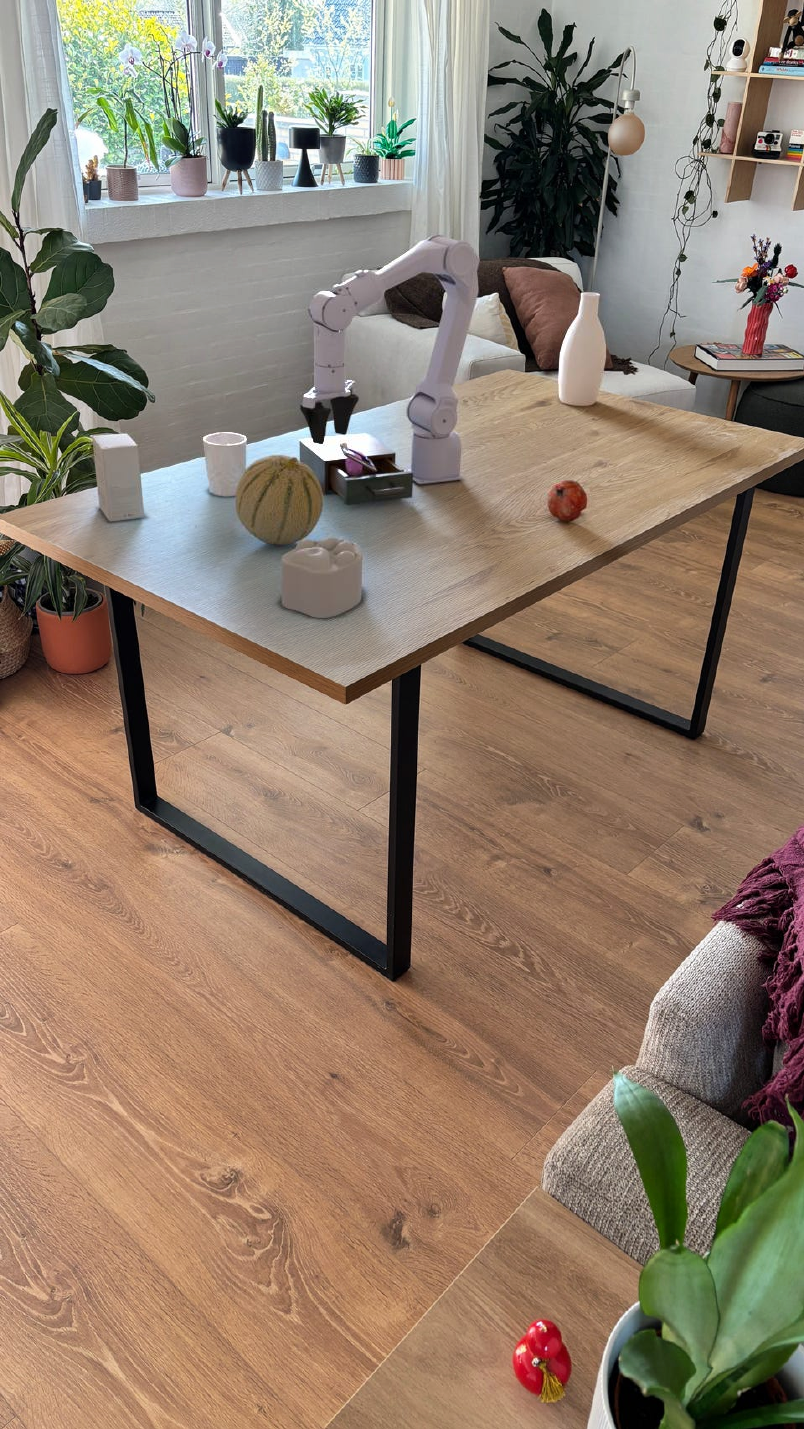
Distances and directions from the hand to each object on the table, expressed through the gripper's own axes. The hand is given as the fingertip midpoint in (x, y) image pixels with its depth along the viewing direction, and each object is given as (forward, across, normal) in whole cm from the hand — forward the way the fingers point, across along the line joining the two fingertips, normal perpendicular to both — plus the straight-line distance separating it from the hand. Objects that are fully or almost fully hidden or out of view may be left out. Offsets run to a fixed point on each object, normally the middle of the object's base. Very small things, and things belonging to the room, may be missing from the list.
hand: (329, 438), depth 202 cm
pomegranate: (+11, +14, -43) cm, 46 cm away
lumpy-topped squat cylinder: (+11, -40, -26) cm, 49 cm away
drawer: (+9, +1, -8) cm, 13 cm away
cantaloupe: (+11, -25, -6) cm, 28 cm away
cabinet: (+10, +8, +1) cm, 13 cm away
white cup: (+11, -11, +16) cm, 22 cm away
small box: (+11, -31, +24) cm, 40 cm away
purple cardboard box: (+6, +1, -7) cm, 9 cm away
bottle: (+11, +92, -14) cm, 94 cm away
